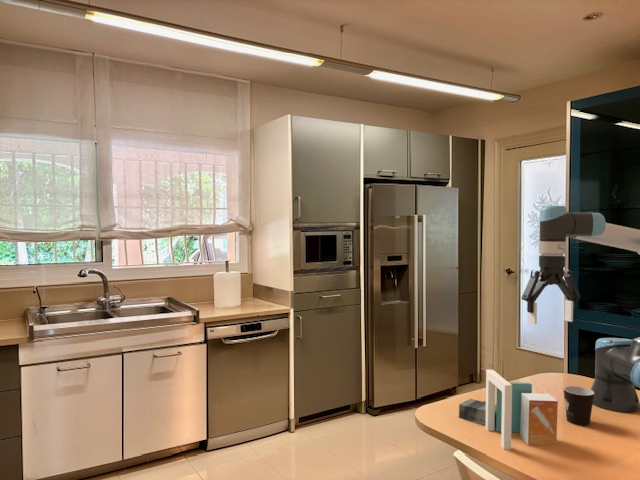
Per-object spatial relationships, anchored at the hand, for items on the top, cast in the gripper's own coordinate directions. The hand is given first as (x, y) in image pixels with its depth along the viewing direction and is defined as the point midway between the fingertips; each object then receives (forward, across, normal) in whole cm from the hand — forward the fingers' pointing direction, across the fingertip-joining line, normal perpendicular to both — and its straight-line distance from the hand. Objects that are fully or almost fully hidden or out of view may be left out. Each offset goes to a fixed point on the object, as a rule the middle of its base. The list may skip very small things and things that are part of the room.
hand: (550, 322), depth 153 cm
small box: (+32, -13, -11) cm, 36 cm away
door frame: (+32, -23, -6) cm, 40 cm away
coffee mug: (+32, +10, -2) cm, 33 cm away
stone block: (+32, -19, +6) cm, 38 cm away
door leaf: (+31, -17, -5) cm, 36 cm away
